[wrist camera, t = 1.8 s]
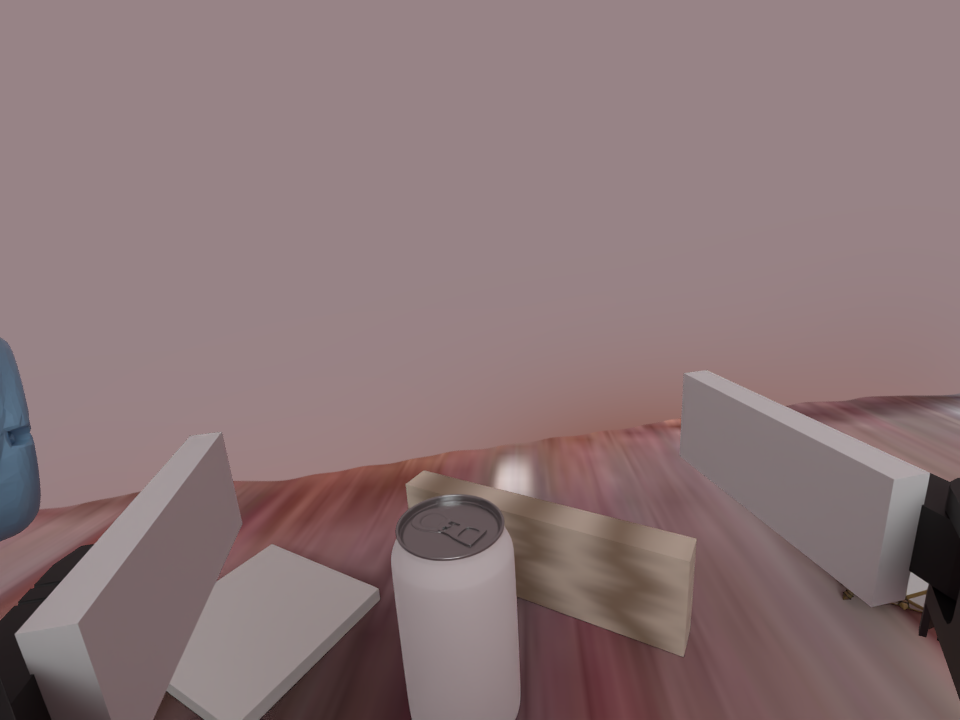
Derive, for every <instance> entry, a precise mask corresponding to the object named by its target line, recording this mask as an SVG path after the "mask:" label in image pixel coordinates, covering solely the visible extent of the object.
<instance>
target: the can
mask: <svg viewBox="0 0 960 720" xmlns="http://www.w3.org/2000/svg"><path fill="white" fill-rule="evenodd" d="M504 524H505V522H504V517H503V514H502V512H501V511H500V509H499V508H498V507H497V506H496V505H495V504H493V503H492V502H490V501H488V500H486V499H484V498H481V497H477V496H473V495H466V494H449V495H442V496H437V497H433V498H430V499H427V500H424V501H422V502H420V503H418V504H416V505H414V506H412V507H411V508H410V509H408V510H407V511H406V512H405V513H404V514H403V515H402V516H401V518H400V519H399V521H398V523H397V525H396V538H397V539H396V541H395V543H394V546H393V550H392V554H391V567H392V577H393V586H394V594H395V602H396V610H397V618H398V626H399V633H400V641H401V649H402V657H403V664H404V672H405V680H406V687H407V694H408V701H409V708H410V713H411V718H412V720H515V719H516V717H517V714H518V711H519V707H520V698H521V688H520V662H519V639H518V618H517V597H516V578H515V560H514V548H513V543H512V539H511V537H510V535H509V533H508V531H507V529H506V528H505V526H504Z"/></svg>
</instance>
